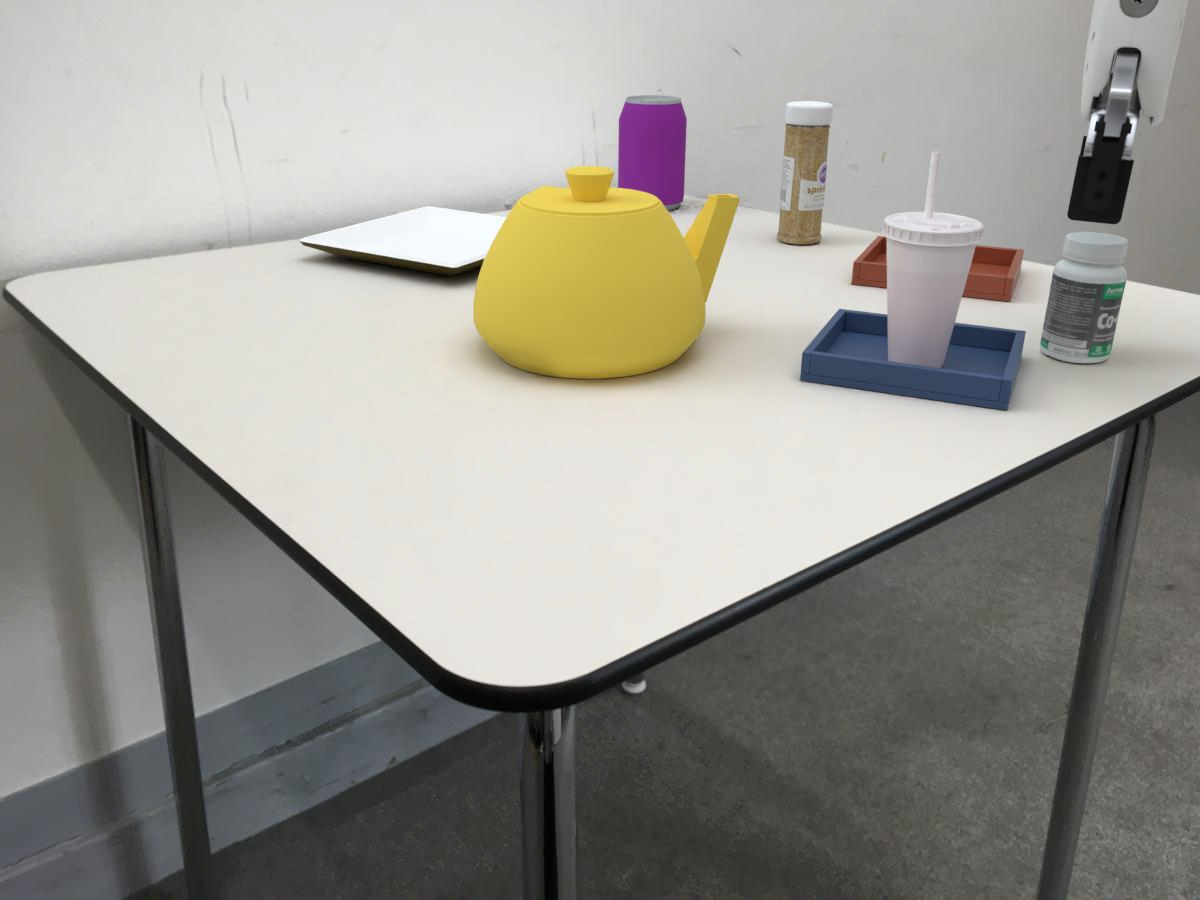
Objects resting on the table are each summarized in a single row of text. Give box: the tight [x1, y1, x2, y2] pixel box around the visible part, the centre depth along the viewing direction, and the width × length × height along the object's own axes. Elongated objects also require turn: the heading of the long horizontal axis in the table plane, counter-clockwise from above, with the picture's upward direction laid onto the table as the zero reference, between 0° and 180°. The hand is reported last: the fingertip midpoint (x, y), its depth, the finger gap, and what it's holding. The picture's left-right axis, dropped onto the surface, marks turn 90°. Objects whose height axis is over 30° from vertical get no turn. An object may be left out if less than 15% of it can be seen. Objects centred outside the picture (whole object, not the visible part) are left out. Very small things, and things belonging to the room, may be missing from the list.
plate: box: [298, 205, 507, 277], centre depth 105 cm, size 19×19×2 cm
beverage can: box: [617, 94, 688, 211], centre depth 124 cm, size 8×8×12 cm
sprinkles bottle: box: [776, 100, 834, 246], centre depth 108 cm, size 5×5×13 cm
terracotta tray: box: [850, 235, 1025, 302], centre depth 97 cm, size 13×11×2 cm
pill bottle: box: [1039, 231, 1129, 364], centre depth 77 cm, size 5×5×8 cm
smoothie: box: [881, 150, 985, 368], centre depth 72 cm, size 6×6×14 cm
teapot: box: [473, 165, 741, 380], centre depth 78 cm, size 20×19×13 cm
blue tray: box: [799, 308, 1027, 411], centre depth 75 cm, size 13×11×2 cm
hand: (1094, 207), depth 74 cm, fingers open, 9 cm apart
